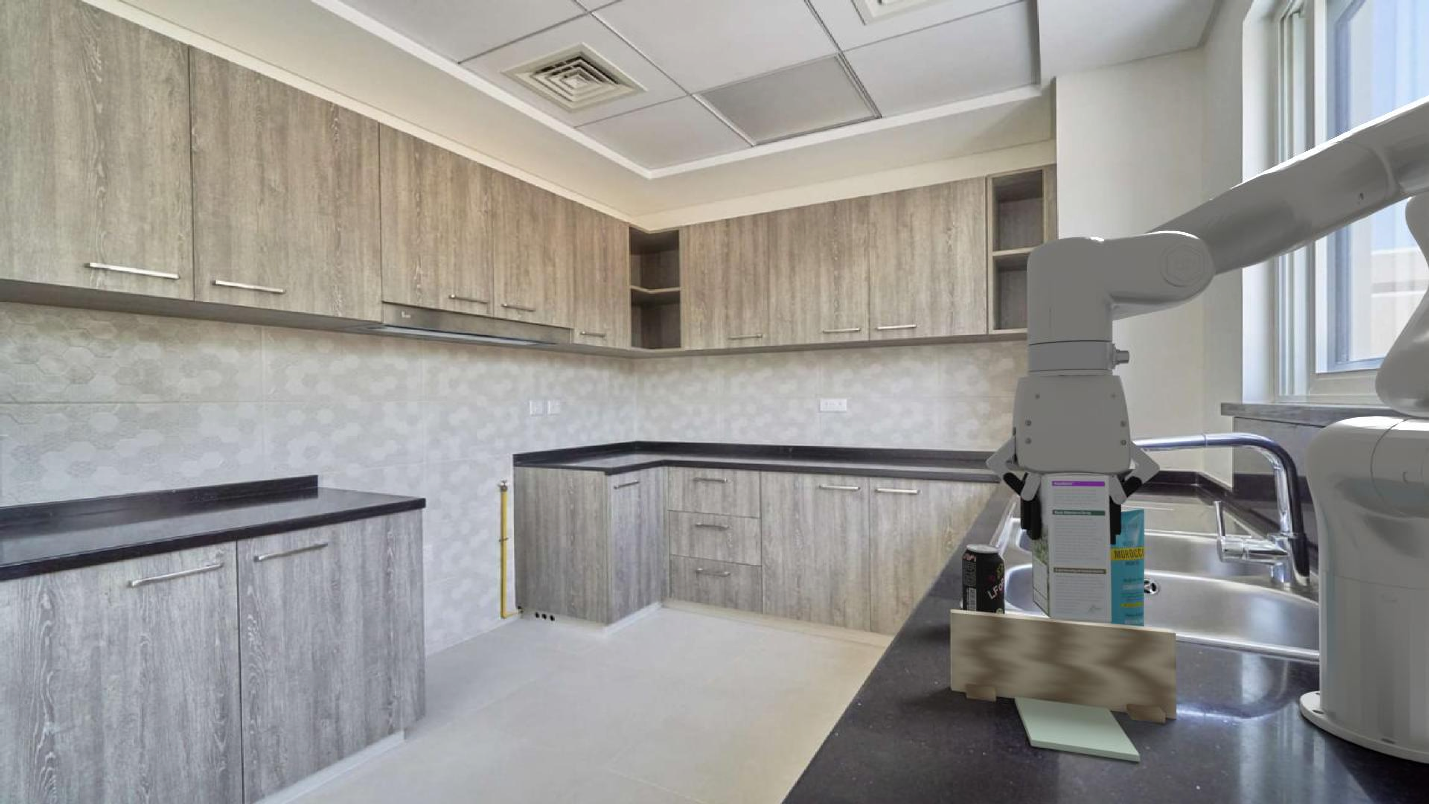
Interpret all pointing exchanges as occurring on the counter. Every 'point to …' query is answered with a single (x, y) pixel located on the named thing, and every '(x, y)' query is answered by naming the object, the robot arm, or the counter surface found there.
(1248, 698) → the counter surface
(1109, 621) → the syrup box
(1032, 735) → the green pad
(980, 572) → the beverage can
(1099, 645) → the birch board
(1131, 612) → the tube
